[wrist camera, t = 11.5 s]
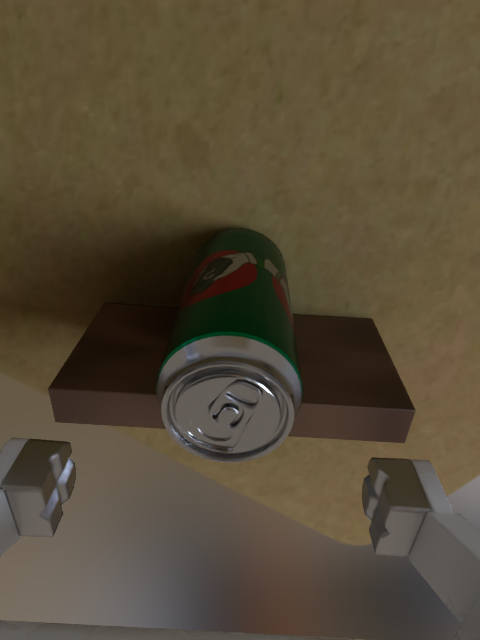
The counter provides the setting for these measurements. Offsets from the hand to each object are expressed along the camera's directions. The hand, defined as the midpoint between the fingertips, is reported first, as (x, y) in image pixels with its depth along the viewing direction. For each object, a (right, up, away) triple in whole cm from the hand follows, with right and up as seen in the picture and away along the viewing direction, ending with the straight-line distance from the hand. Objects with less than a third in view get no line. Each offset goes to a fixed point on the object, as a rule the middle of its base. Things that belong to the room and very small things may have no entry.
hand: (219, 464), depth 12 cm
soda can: (+1, +7, +13) cm, 14 cm away
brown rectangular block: (0, +2, +15) cm, 15 cm away
